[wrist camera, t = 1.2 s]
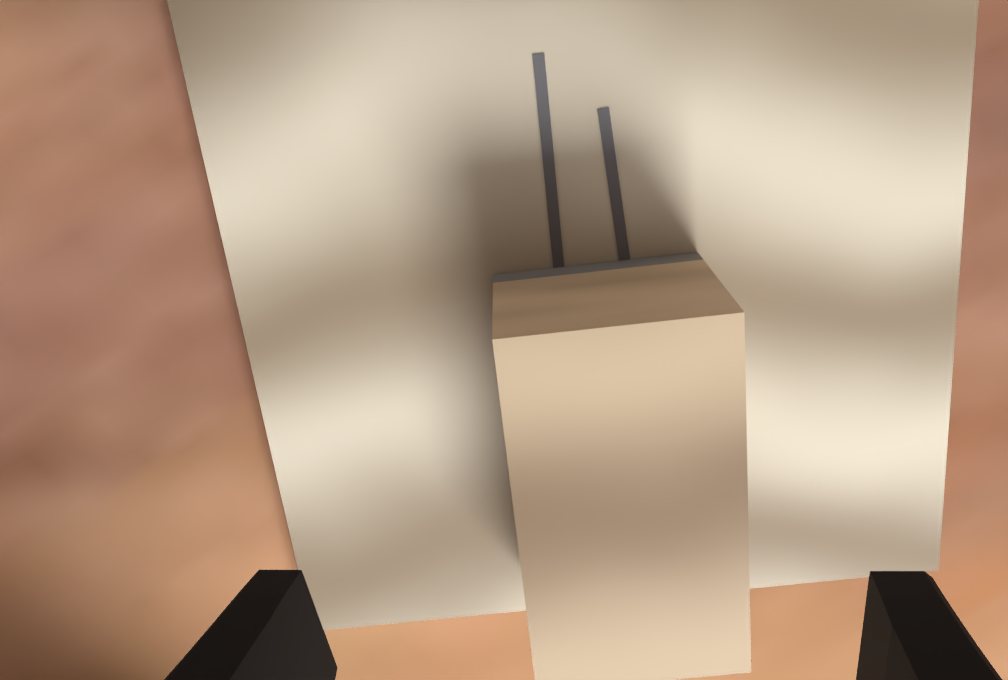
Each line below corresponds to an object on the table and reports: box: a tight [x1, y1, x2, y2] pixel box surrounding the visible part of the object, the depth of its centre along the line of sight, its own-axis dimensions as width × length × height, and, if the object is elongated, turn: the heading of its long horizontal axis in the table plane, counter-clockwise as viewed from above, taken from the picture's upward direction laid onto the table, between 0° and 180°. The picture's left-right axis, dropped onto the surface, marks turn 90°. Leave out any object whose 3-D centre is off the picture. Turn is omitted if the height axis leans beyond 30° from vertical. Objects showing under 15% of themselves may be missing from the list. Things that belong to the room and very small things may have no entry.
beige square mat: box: [167, 0, 979, 630], centre depth 21 cm, size 16×16×1 cm
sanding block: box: [492, 252, 751, 680], centre depth 19 cm, size 8×4×4 cm, turn 6°
